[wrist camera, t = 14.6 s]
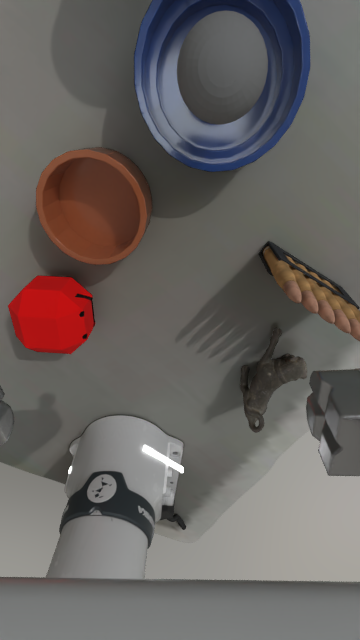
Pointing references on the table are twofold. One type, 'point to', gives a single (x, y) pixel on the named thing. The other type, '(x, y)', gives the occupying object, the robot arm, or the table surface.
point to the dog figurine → (268, 381)
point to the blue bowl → (256, 125)
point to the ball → (52, 315)
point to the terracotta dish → (94, 204)
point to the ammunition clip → (312, 289)
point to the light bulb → (222, 67)
